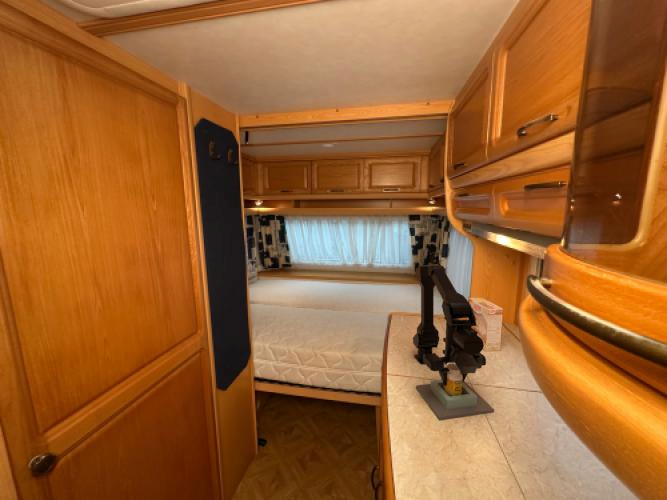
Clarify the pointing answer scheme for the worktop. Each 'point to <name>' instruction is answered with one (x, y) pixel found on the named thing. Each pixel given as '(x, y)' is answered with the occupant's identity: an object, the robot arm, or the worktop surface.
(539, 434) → the worktop surface
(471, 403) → the socket
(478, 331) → the coffeecake box
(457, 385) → the supplement bottle
